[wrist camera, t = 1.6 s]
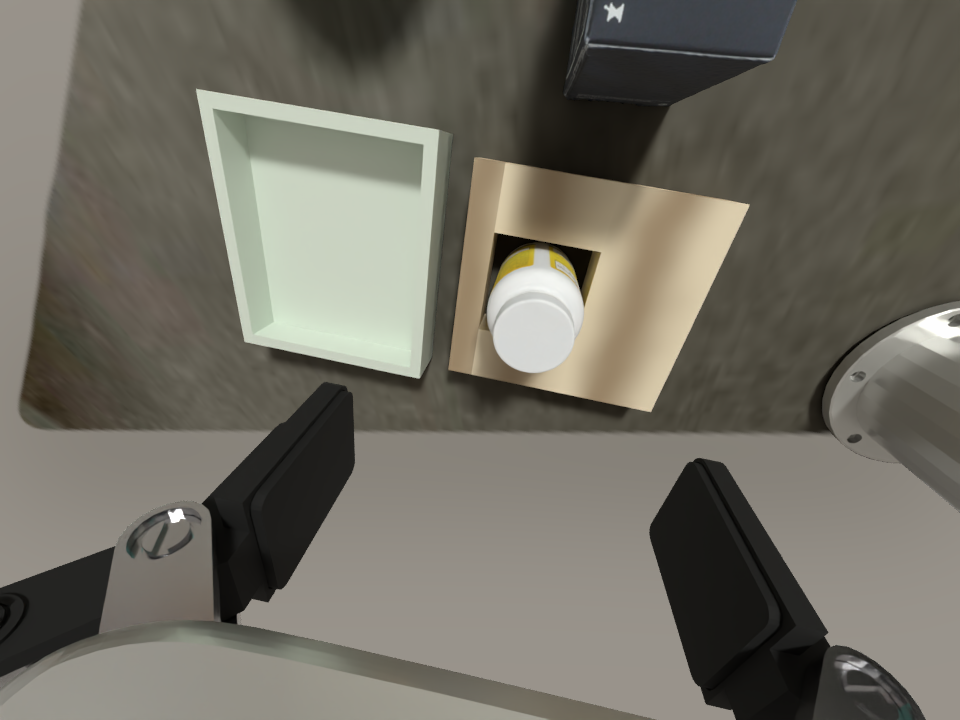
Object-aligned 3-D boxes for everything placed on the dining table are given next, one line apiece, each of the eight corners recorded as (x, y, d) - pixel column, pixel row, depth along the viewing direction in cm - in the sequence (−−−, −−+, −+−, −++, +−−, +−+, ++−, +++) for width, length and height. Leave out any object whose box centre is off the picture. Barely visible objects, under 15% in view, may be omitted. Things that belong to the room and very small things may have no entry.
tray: (453, 134, 23) (439, 130, 20) (432, 357, 30) (419, 378, 27) (241, 98, 23) (195, 88, 20) (273, 324, 31) (244, 341, 28)
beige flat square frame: (725, 199, 22) (749, 204, 19) (641, 389, 29) (650, 412, 26) (482, 157, 23) (474, 157, 20) (456, 351, 30) (448, 369, 27)
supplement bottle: (493, 308, 28) (471, 374, 19) (505, 235, 25) (485, 273, 16) (564, 321, 27) (574, 394, 19) (584, 248, 25) (605, 294, 16)
